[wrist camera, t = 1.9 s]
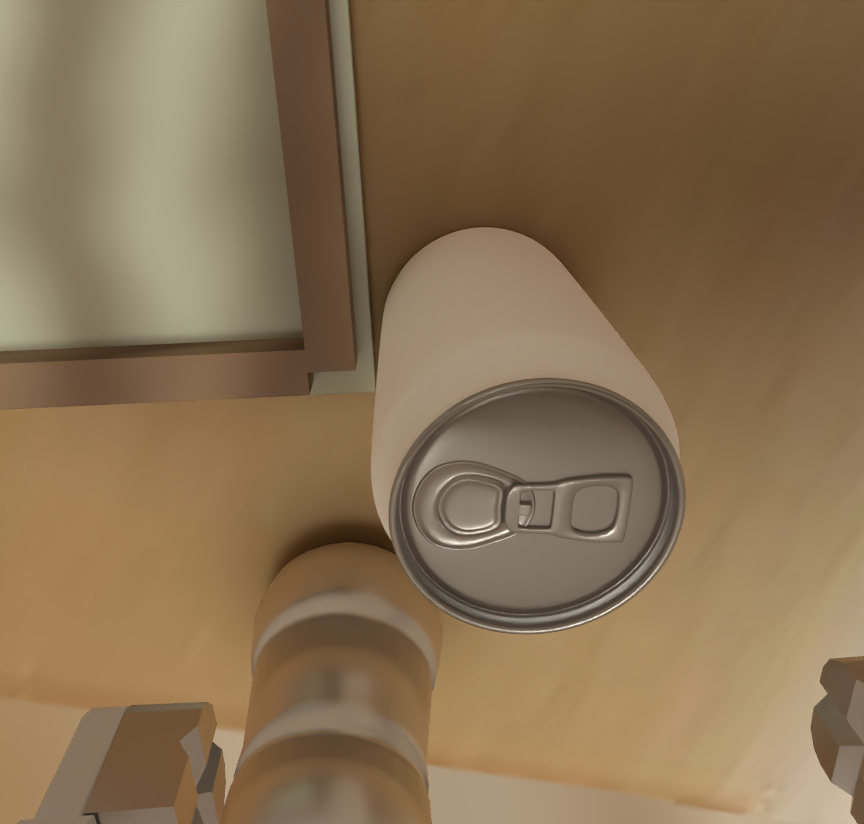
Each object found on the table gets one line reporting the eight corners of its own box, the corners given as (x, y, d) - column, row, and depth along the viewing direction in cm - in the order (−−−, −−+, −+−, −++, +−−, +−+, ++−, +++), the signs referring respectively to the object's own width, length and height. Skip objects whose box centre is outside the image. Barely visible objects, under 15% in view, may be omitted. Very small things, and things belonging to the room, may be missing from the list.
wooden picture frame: (334, -200, 19) (327, -228, 18) (376, 382, 26) (374, 406, 24) (-304, -178, 19) (-378, -204, 17) (-98, 404, 26) (-136, 430, 24)
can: (382, 220, 24) (363, 353, 13) (587, 225, 24) (740, 359, 13) (382, 410, 26) (366, 652, 16) (567, 412, 27) (679, 652, 16)
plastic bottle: (410, 670, 31) (420, 1510, 13) (247, 632, 30) (11, 1492, 12) (462, 544, 29) (564, 1363, 11) (287, 498, 28) (66, 1323, 10)
